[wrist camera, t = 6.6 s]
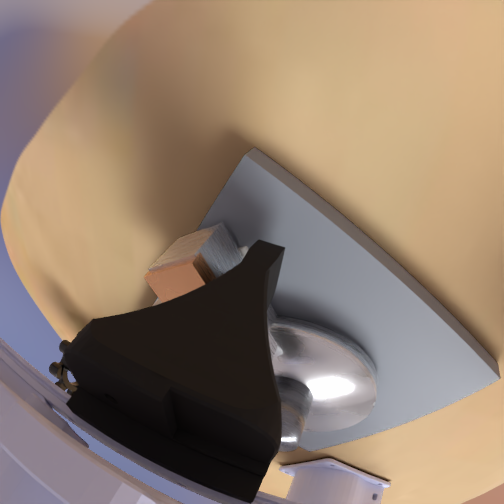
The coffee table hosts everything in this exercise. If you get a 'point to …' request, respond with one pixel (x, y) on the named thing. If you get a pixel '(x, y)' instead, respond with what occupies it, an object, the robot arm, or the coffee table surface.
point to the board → (352, 297)
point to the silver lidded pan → (280, 343)
